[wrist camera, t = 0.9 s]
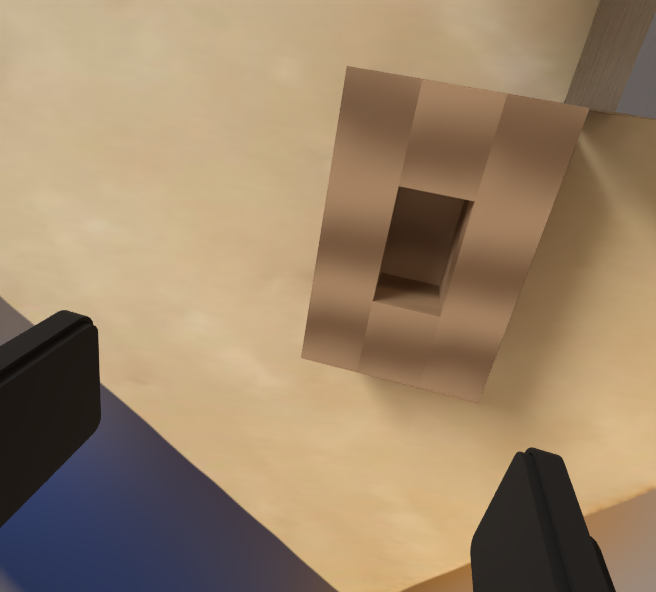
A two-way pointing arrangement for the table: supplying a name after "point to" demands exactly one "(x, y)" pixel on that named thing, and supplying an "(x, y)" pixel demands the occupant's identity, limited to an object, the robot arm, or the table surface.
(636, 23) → the grey rectangular block
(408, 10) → the table surface
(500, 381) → the table surface
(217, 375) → the table surface
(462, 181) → the tan slotted block
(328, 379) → the table surface
